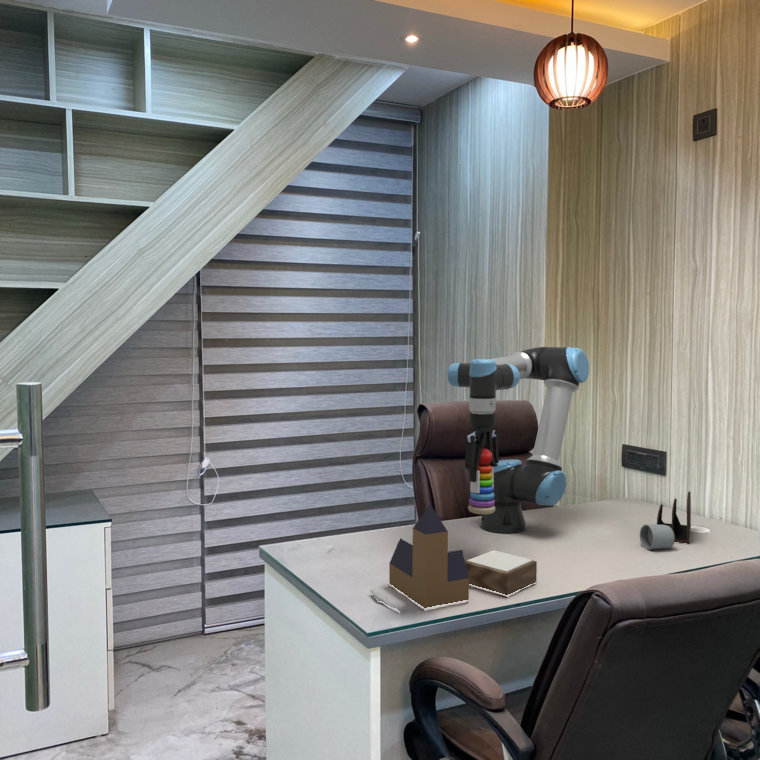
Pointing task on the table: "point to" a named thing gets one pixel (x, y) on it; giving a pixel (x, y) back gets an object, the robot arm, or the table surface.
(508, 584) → the base block
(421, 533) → the toy building blocks
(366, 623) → the table surface
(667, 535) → the ceramic mug
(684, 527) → the letter holder
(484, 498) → the stacking toy
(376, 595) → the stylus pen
